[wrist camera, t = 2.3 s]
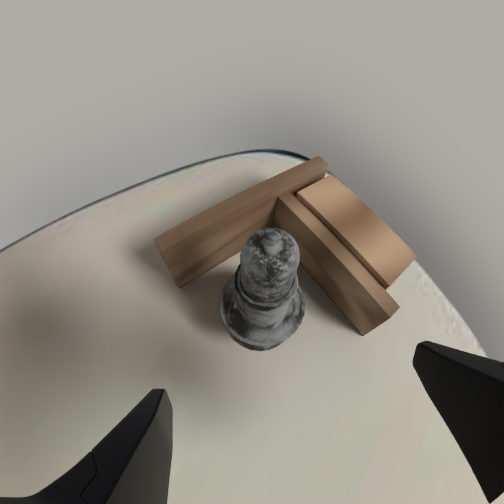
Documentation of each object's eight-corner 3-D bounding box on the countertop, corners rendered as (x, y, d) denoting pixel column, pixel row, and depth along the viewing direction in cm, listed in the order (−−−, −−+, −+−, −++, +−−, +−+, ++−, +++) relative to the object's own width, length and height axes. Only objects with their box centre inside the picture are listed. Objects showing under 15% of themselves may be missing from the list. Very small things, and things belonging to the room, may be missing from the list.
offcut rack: (400, 297, 23) (435, 267, 17) (267, 413, 18) (276, 418, 13) (307, 199, 28) (318, 156, 23) (172, 277, 23) (154, 239, 18)
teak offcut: (405, 268, 20) (417, 256, 18) (378, 296, 19) (389, 285, 17) (326, 189, 24) (331, 174, 22) (294, 208, 23) (297, 192, 21)
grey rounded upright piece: (302, 294, 23) (346, 197, 12) (287, 362, 20) (335, 315, 9) (234, 278, 23) (227, 171, 13) (213, 343, 20) (180, 277, 10)
